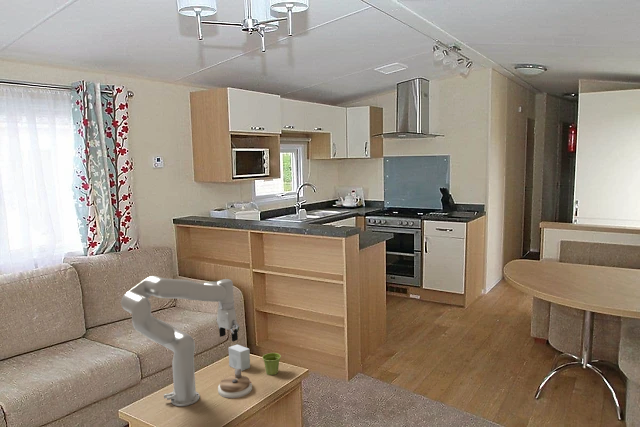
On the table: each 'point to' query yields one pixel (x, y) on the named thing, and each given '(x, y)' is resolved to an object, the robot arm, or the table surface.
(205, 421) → the table surface
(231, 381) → the dial
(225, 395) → the stand
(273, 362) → the plant pot
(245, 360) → the skincare box
